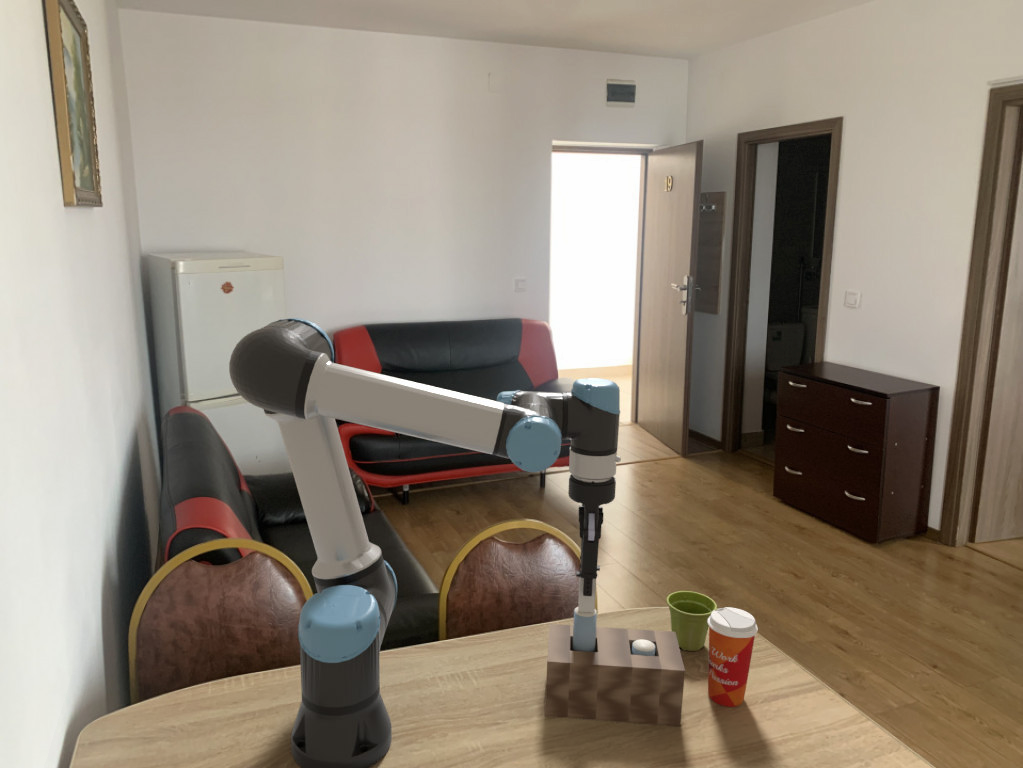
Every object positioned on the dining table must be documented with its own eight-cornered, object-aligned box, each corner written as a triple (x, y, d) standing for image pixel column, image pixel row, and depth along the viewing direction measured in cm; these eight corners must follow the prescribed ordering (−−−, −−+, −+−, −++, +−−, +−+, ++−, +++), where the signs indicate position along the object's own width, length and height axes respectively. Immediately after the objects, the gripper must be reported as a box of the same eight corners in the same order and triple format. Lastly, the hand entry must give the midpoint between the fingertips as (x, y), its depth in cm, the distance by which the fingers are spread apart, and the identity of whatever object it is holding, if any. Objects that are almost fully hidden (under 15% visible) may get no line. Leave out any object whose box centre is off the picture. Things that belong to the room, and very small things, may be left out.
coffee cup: (691, 689, 136) (697, 611, 133) (727, 678, 139) (734, 601, 136) (724, 717, 128) (732, 634, 125) (761, 704, 132) (769, 623, 129)
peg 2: (629, 704, 130) (633, 650, 128) (628, 691, 134) (631, 638, 132) (652, 706, 130) (656, 652, 128) (650, 693, 134) (654, 640, 132)
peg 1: (571, 670, 130) (574, 615, 128) (571, 658, 134) (574, 604, 131) (594, 672, 130) (597, 617, 127) (593, 659, 133) (596, 606, 131)
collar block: (544, 716, 127) (547, 661, 125) (547, 674, 139) (549, 623, 137) (680, 726, 126) (684, 670, 124) (671, 683, 138) (675, 631, 135)
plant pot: (704, 630, 156) (707, 590, 154) (719, 656, 147) (723, 614, 145) (658, 630, 155) (661, 590, 153) (670, 656, 146) (674, 614, 144)
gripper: (618, 489, 118) (610, 631, 123) (614, 463, 131) (607, 592, 135) (568, 487, 118) (563, 628, 123) (569, 461, 131) (564, 590, 136)
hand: (586, 609), depth 129 cm, fingers closed
